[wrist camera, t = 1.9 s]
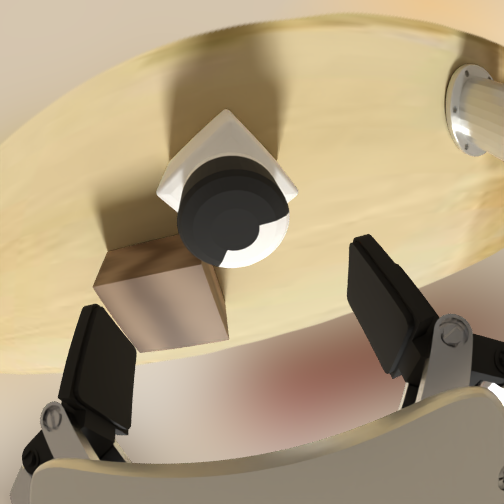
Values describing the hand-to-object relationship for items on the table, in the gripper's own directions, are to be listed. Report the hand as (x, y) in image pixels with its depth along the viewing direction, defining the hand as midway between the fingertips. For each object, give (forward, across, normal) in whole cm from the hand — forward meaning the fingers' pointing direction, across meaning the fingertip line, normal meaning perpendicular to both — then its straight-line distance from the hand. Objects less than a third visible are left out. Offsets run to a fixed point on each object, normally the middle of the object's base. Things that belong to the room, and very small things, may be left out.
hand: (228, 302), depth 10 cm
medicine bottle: (+17, -1, 0) cm, 17 cm away
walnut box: (+18, +8, +12) cm, 23 cm away
